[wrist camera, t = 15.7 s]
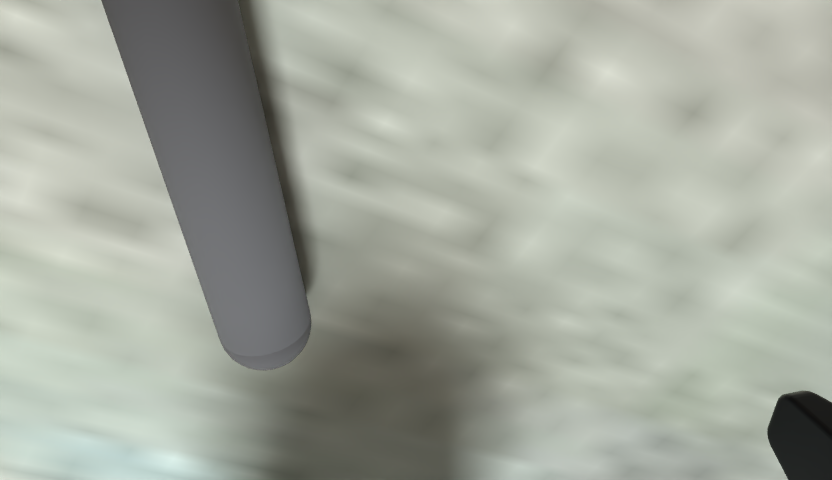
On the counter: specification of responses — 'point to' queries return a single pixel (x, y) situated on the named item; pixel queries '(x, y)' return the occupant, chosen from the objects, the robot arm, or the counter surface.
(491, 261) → the counter surface
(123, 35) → the grey rounded rod
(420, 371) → the counter surface
